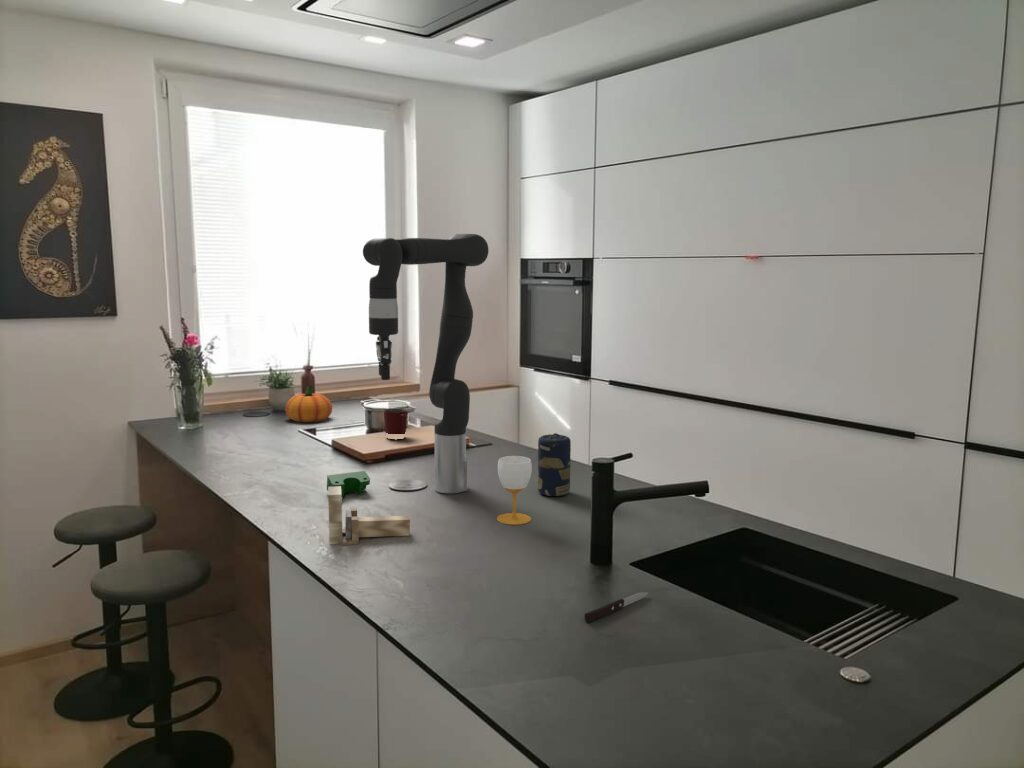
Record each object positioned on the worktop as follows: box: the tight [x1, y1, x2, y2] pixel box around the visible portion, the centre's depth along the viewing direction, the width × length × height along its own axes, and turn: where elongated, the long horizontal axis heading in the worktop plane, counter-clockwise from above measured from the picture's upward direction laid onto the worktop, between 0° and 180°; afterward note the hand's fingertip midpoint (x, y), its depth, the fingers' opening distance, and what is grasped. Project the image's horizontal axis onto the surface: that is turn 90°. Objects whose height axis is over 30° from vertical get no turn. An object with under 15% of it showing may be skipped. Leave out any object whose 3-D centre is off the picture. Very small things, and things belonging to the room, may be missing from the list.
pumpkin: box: [284, 385, 333, 423], centre depth 318 cm, size 19×19×15 cm
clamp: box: [326, 470, 371, 499], centre depth 212 cm, size 12×6×9 cm, turn 113°
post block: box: [327, 486, 360, 546], centre depth 176 cm, size 7×9×12 cm
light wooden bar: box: [344, 509, 411, 539], centre depth 179 cm, size 15×5×6 cm, turn 104°
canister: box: [537, 432, 572, 497], centre depth 214 cm, size 10×10×18 cm
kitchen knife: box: [584, 592, 649, 624], centre depth 141 cm, size 18×1×2 cm, turn 131°
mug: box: [383, 407, 408, 434], centre depth 284 cm, size 12×9×11 cm
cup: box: [496, 455, 533, 526], centre depth 191 cm, size 9×9×16 cm
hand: (384, 377), depth 194 cm, fingers open, 8 cm apart
